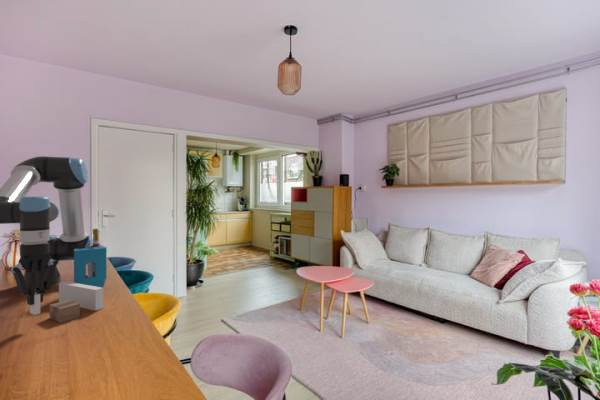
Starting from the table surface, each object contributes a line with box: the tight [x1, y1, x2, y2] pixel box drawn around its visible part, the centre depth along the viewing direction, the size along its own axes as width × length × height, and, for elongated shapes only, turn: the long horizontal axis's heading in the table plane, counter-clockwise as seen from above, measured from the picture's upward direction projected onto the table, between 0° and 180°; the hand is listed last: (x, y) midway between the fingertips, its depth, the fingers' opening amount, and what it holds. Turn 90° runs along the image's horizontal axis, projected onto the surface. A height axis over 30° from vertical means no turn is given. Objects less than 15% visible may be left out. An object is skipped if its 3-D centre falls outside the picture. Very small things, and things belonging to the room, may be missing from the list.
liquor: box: [87, 228, 105, 277], centre depth 145 cm, size 7×7×28 cm
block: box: [73, 246, 108, 289], centre depth 137 cm, size 12×5×20 cm, turn 126°
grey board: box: [58, 280, 104, 312], centre depth 122 cm, size 22×3×8 cm, turn 68°
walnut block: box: [49, 300, 81, 324], centre depth 110 cm, size 8×6×5 cm
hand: (35, 313), depth 101 cm, fingers closed
